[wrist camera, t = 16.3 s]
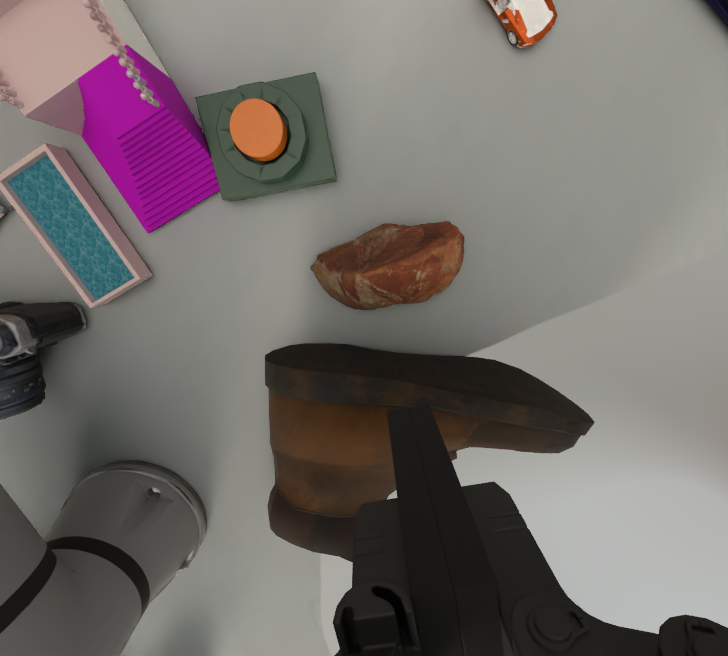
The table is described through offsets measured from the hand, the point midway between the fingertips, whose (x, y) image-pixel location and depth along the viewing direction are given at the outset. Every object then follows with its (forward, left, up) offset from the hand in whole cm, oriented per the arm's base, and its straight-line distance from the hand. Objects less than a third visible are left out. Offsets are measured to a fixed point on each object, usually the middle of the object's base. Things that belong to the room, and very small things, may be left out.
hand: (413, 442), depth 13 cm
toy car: (+15, +23, -25) cm, 37 cm away
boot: (+4, -5, -19) cm, 20 cm away
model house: (-22, +20, -24) cm, 38 cm away
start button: (-7, +16, -21) cm, 27 cm away
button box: (-7, +16, -24) cm, 30 cm away
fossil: (+3, 0, -19) cm, 19 cm away
